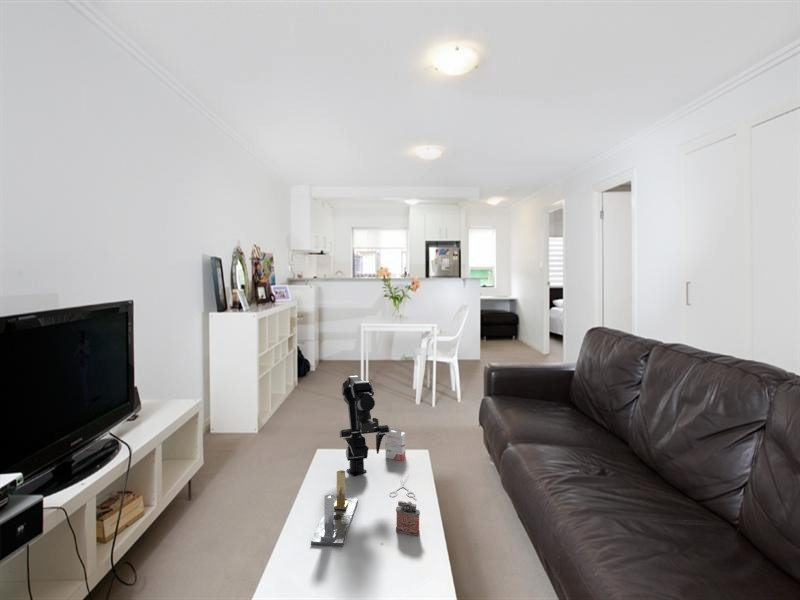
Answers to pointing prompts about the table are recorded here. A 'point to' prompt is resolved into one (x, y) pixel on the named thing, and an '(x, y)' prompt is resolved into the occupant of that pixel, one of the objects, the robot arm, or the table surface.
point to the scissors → (404, 488)
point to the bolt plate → (334, 523)
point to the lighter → (407, 519)
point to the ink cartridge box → (395, 444)
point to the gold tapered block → (340, 491)
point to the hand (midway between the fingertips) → (366, 455)
